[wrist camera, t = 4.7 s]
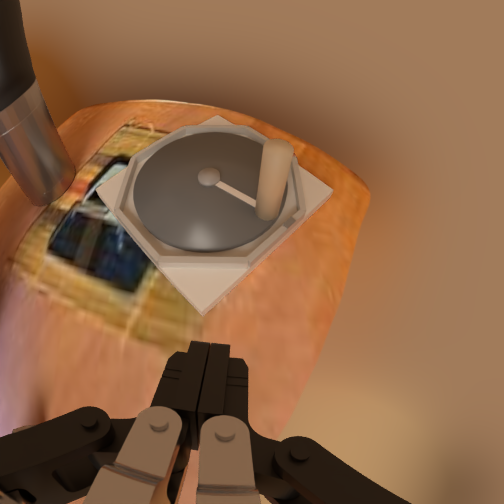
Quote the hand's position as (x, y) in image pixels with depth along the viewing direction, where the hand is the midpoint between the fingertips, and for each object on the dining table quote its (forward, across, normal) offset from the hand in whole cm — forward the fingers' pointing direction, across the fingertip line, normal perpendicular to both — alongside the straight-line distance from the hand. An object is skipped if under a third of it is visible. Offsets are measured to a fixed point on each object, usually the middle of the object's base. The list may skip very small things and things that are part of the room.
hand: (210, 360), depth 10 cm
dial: (+25, +4, -5) cm, 26 cm away
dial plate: (+26, +4, -4) cm, 27 cm away
